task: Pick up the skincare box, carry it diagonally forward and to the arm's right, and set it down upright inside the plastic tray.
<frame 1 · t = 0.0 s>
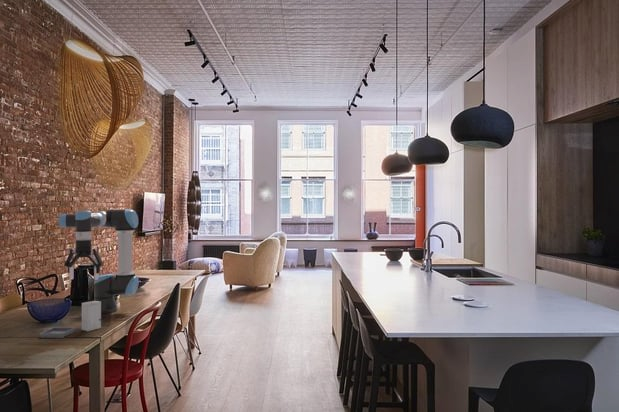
hand: (83, 279, 252), 28 cm above the table, fingers open, 13 cm apart
skincare box: (91, 329, 259), on the table
tray: (58, 334, 248), on the table
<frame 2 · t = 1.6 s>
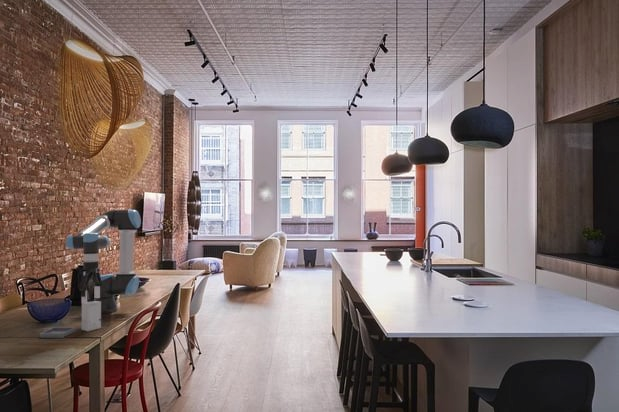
hand: (90, 300, 258), 16 cm above the table, fingers open, 13 cm apart
nothing on the table moved.
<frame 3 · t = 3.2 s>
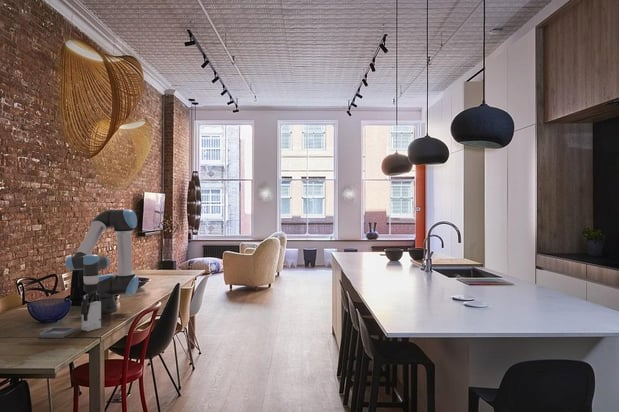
hand: (91, 324, 258), 3 cm above the table, fingers closed on skincare box, 10 cm apart
skincare box: (91, 329, 259), on the table, touching gripper
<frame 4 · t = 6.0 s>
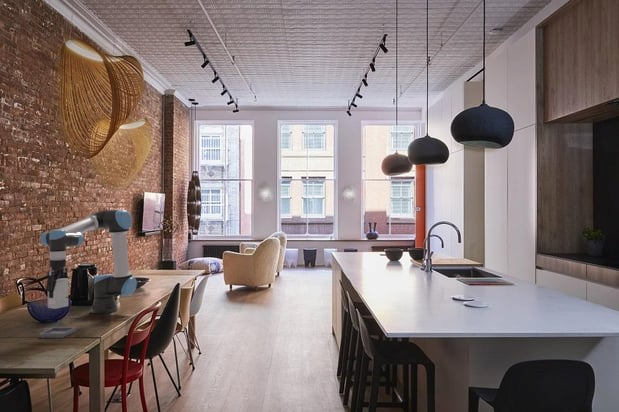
hand: (58, 301, 248), 17 cm above the table, fingers closed on skincare box, 10 cm apart
skincare box: (58, 307, 248), point 14 cm above the table, touching gripper
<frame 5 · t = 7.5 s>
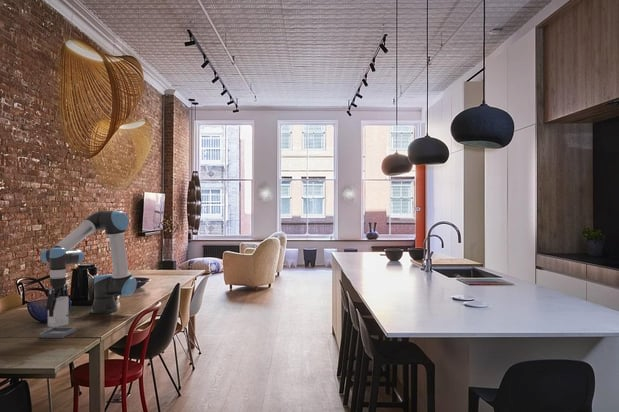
hand: (58, 320, 248), 7 cm above the table, fingers closed on skincare box, 10 cm apart
skincare box: (58, 325, 248), point 5 cm above the table, touching gripper
when the fingers open (5 cm above the table, at t = 8.7 s): skincare box drops 1 cm, resting on tray.
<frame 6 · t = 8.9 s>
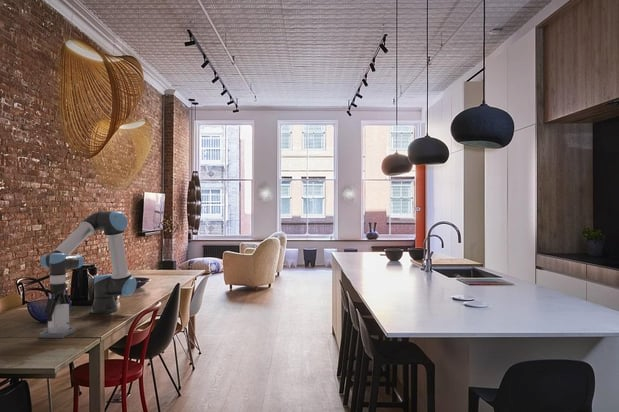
hand: (58, 324, 248), 5 cm above the table, fingers open, 12 cm apart
skincare box: (58, 333, 249), resting on tray
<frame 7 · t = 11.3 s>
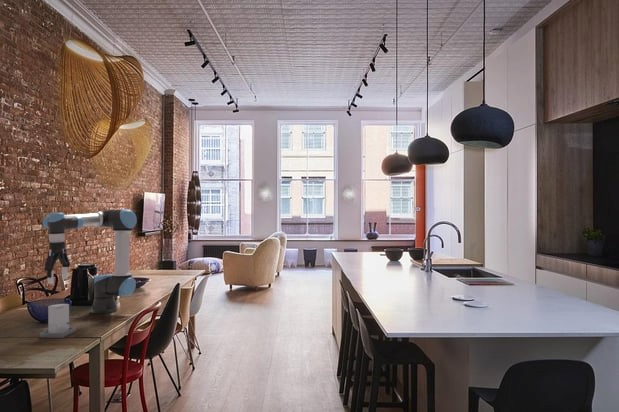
hand: (57, 281, 253), 27 cm above the table, fingers open, 13 cm apart
nothing on the table moved.
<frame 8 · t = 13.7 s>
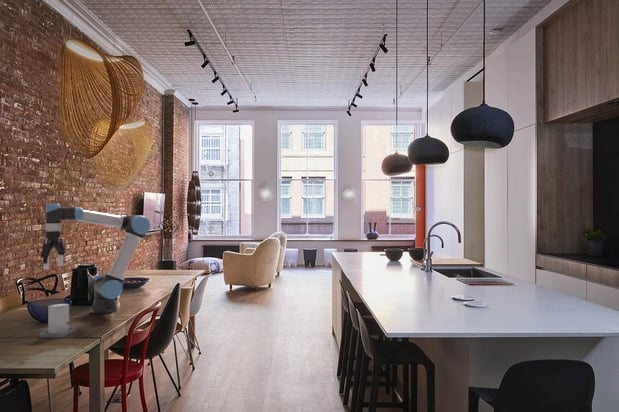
hand: (53, 267, 273), 32 cm above the table, fingers open, 13 cm apart
nothing on the table moved.
at the end: skincare box inside the target area on the tray (0.5 cm from its centre), point 0.4 cm above the tray's base; skincare box tilted 0°; the gripper is holding nothing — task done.
